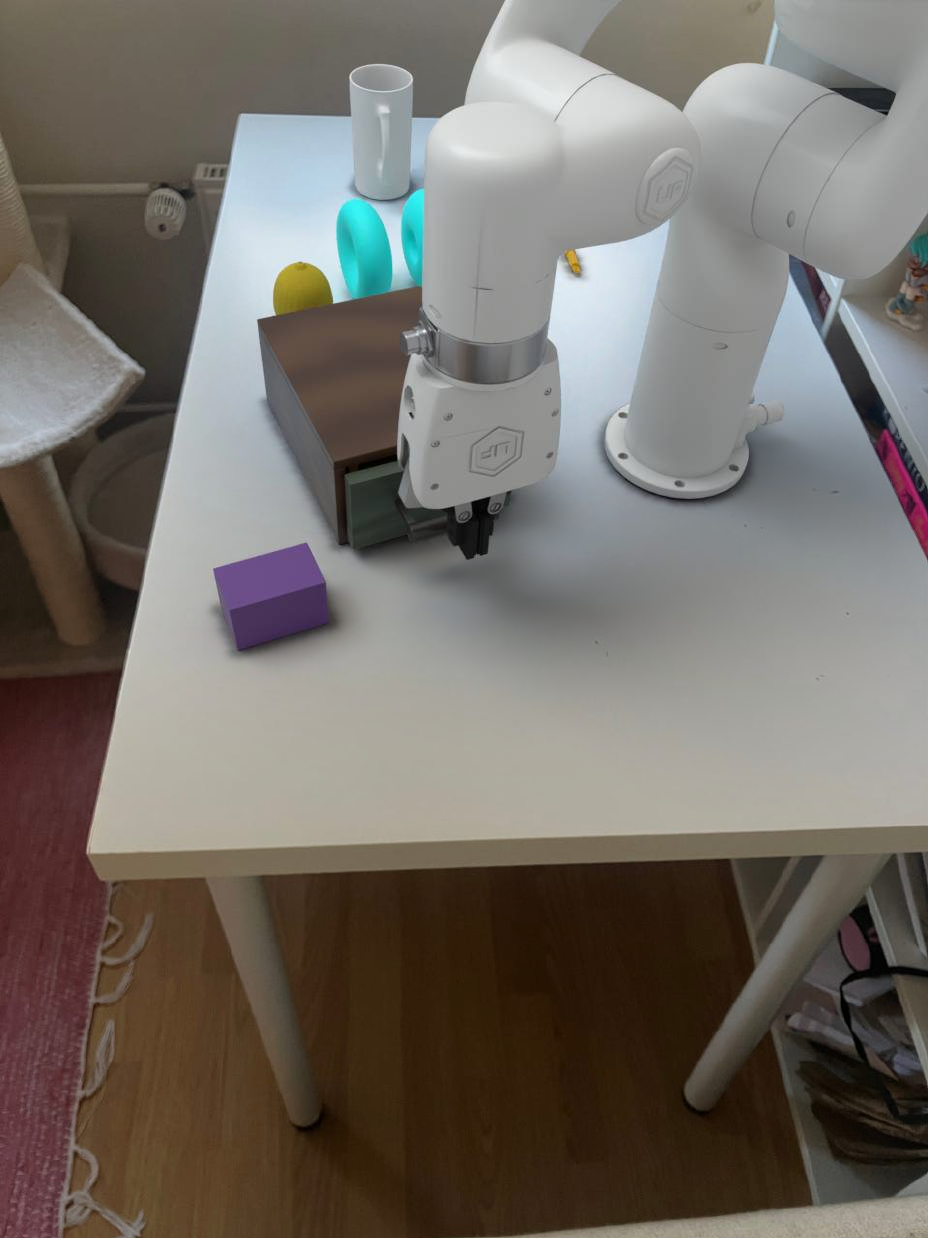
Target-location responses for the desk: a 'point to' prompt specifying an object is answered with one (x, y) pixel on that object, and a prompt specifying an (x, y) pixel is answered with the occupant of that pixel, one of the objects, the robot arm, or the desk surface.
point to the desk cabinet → (338, 387)
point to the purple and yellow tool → (573, 260)
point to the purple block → (272, 595)
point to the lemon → (300, 289)
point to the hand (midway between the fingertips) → (468, 543)
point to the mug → (381, 130)
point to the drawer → (387, 506)
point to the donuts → (377, 245)
